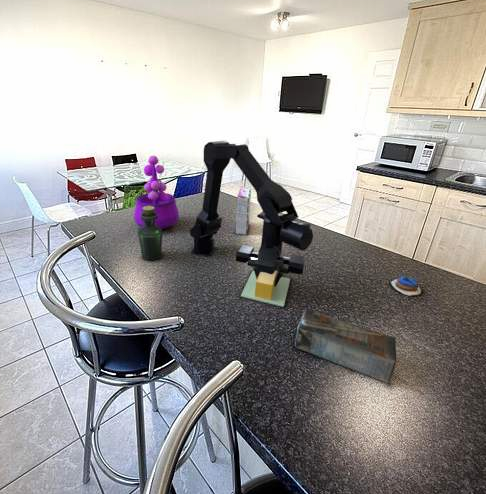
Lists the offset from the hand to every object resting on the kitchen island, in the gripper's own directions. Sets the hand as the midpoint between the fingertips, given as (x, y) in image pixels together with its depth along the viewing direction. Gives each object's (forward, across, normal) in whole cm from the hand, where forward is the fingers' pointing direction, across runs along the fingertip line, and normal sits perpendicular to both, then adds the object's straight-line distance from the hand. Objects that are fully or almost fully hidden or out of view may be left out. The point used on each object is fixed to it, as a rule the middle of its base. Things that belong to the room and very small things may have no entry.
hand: (266, 284), depth 86 cm
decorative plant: (+2, -53, +27) cm, 60 cm away
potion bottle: (+2, -41, +3) cm, 41 cm away
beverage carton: (+2, +20, -18) cm, 27 cm away
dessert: (+2, +39, +16) cm, 42 cm away
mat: (+1, 0, 0) cm, 1 cm away
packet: (+1, 0, 0) cm, 1 cm away
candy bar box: (+2, -18, +38) cm, 42 cm away
